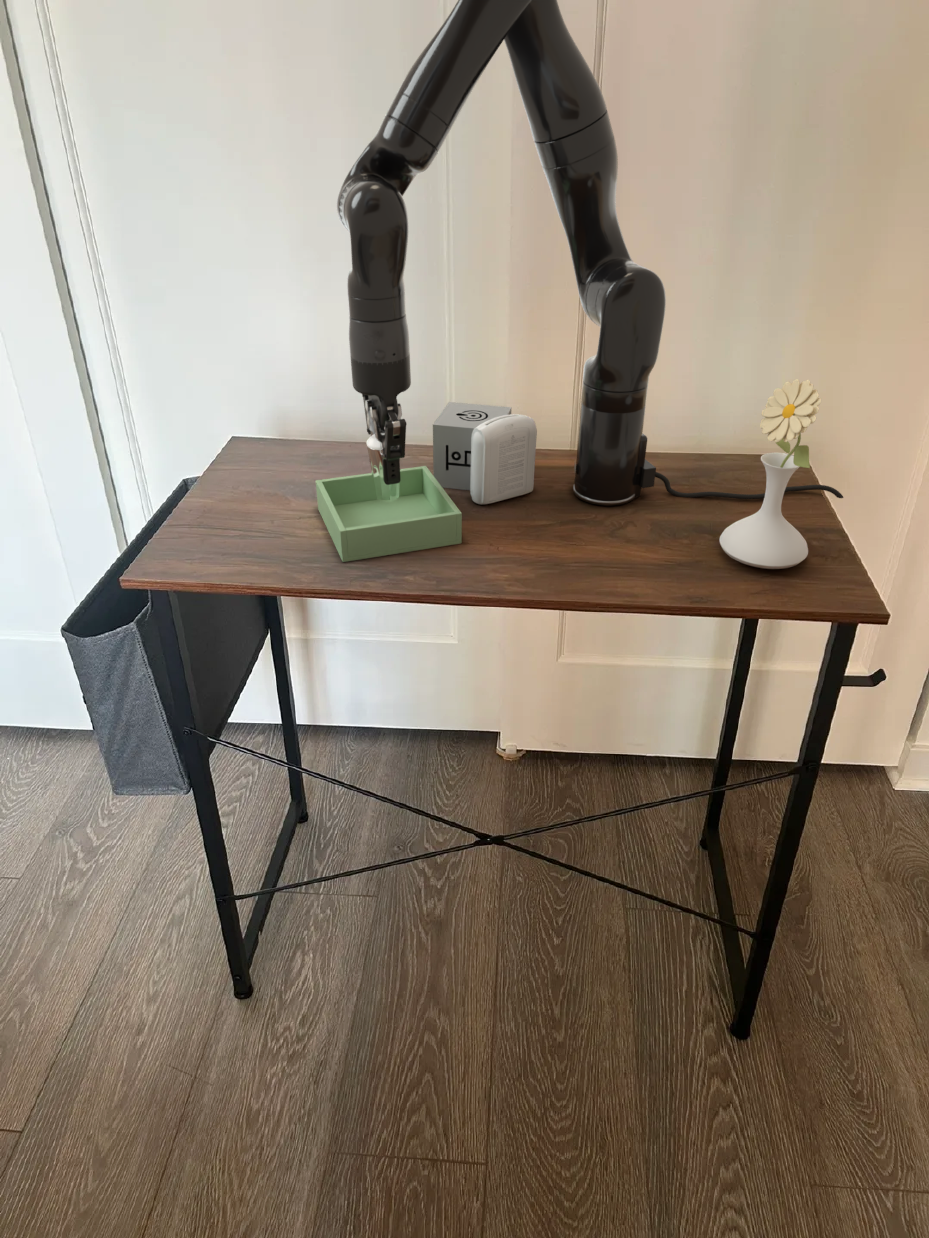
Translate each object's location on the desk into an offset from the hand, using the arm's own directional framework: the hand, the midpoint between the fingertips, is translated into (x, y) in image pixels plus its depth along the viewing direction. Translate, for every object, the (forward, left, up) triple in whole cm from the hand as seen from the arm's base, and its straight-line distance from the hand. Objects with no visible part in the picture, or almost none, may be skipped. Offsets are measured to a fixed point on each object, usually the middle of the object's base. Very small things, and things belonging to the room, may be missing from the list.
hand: (387, 475), depth 123 cm
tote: (0, 0, -8) cm, 8 cm away
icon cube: (-17, -12, -8) cm, 22 cm away
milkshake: (0, 0, -3) cm, 3 cm away
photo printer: (-19, -4, -8) cm, 21 cm away
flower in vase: (-45, +25, -8) cm, 52 cm away
